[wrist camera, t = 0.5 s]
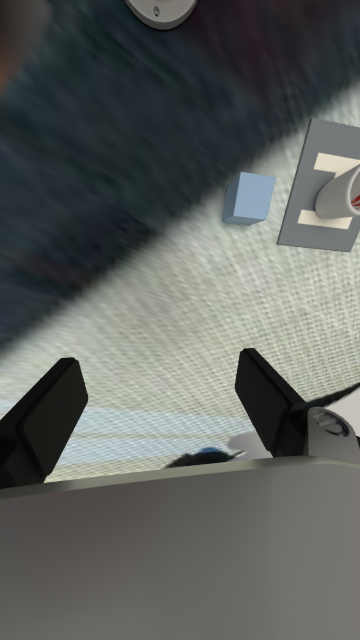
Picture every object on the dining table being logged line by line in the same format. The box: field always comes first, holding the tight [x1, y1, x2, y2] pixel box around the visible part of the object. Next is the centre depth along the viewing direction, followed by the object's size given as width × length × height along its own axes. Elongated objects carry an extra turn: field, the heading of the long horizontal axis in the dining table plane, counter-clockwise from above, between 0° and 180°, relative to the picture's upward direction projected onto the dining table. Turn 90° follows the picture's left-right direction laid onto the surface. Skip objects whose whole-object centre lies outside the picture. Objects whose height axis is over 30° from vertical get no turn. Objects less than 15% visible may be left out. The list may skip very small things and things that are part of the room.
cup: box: [315, 164, 360, 219], centre depth 30 cm, size 11×8×8 cm
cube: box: [222, 172, 276, 225], centre depth 30 cm, size 6×6×6 cm
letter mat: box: [277, 118, 360, 252], centre depth 34 cm, size 20×18×1 cm
